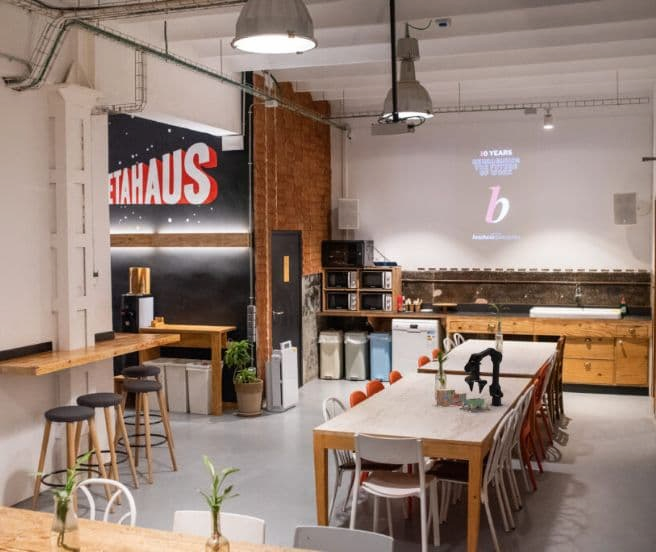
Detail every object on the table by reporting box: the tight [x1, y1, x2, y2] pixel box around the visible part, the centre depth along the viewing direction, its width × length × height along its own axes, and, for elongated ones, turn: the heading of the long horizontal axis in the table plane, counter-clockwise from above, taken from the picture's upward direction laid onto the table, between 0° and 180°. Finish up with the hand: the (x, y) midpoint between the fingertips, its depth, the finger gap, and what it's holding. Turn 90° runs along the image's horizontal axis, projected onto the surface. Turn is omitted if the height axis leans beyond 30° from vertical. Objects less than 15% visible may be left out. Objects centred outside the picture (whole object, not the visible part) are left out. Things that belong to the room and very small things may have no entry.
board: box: [465, 397, 485, 407], centre depth 580 cm, size 12×6×4 cm, turn 121°
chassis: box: [459, 401, 492, 413], centre depth 580 cm, size 17×14×6 cm
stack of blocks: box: [436, 388, 467, 407], centre depth 597 cm, size 21×6×12 cm, turn 103°
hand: (475, 392), depth 581 cm, fingers open, 9 cm apart
